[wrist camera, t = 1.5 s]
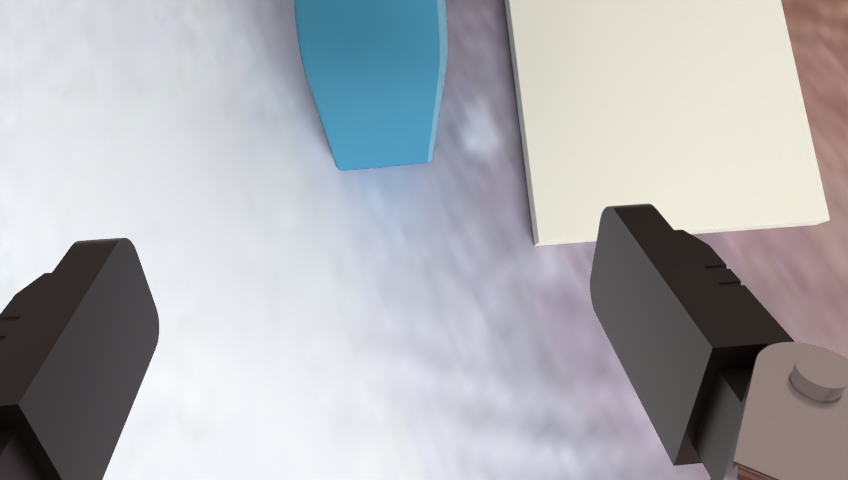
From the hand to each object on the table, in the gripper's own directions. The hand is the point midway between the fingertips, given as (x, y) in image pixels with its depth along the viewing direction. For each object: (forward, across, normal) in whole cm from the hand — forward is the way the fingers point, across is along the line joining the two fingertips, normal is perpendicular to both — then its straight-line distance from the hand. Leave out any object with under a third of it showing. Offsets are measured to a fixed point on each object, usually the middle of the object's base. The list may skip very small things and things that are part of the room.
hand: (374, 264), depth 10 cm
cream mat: (+21, -14, +4) cm, 26 cm away
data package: (+22, 0, +3) cm, 22 cm away
